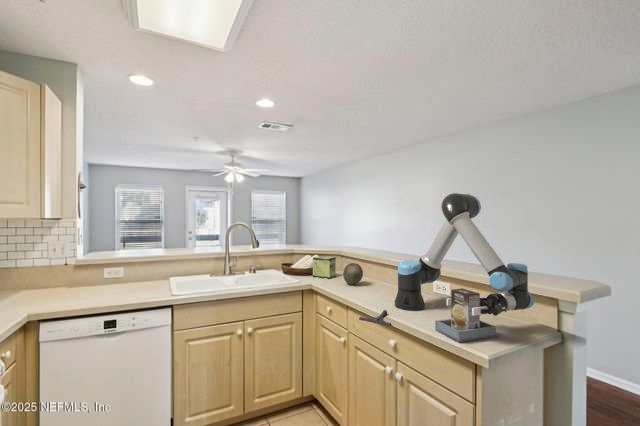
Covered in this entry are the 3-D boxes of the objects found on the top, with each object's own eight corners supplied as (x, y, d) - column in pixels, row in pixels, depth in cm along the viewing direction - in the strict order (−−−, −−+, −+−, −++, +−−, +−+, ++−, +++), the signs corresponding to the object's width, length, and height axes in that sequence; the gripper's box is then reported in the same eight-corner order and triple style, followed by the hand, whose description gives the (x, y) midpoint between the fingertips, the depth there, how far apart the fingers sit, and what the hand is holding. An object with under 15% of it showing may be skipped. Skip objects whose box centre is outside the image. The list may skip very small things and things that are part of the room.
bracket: (400, 317, 142) (400, 312, 142) (389, 327, 129) (389, 320, 129) (372, 312, 149) (372, 307, 150) (359, 321, 137) (359, 315, 137)
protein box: (329, 279, 229) (329, 258, 229) (312, 277, 237) (312, 257, 237) (336, 277, 238) (336, 257, 238) (319, 275, 246) (319, 256, 246)
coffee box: (450, 328, 124) (450, 289, 124) (462, 326, 126) (462, 287, 126) (468, 336, 115) (468, 294, 115) (480, 334, 117) (480, 293, 118)
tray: (435, 330, 124) (435, 320, 124) (470, 325, 130) (470, 316, 130) (458, 342, 112) (458, 332, 112) (496, 337, 117) (496, 326, 117)
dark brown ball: (339, 285, 207) (339, 263, 207) (348, 282, 219) (348, 261, 219) (358, 288, 199) (358, 265, 200) (366, 284, 211) (366, 262, 212)
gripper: (528, 320, 114) (485, 326, 108) (476, 303, 138) (438, 307, 132) (528, 301, 115) (485, 305, 108) (476, 286, 138) (438, 290, 132)
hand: (459, 306), depth 120 cm, fingers open, 13 cm apart
